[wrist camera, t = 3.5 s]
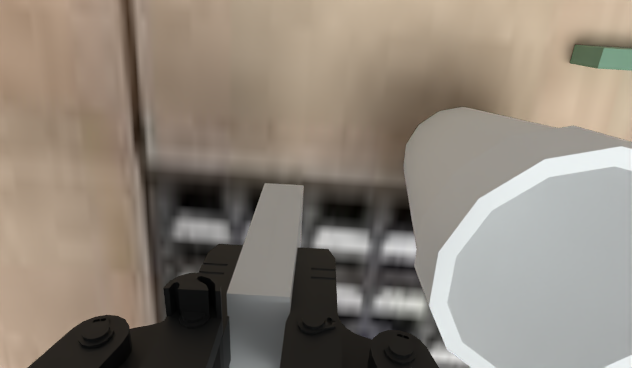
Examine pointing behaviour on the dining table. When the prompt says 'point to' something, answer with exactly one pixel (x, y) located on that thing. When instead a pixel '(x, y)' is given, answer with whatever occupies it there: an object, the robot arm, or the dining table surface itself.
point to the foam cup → (523, 239)
